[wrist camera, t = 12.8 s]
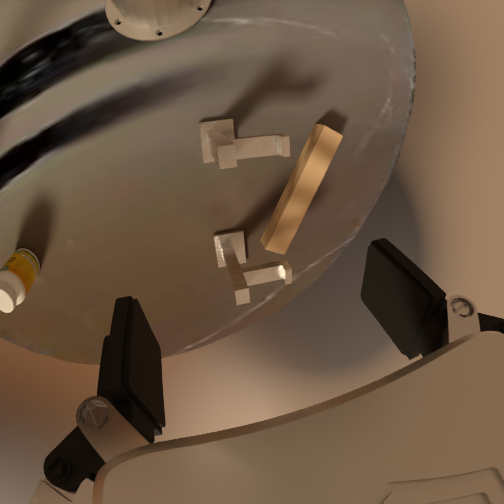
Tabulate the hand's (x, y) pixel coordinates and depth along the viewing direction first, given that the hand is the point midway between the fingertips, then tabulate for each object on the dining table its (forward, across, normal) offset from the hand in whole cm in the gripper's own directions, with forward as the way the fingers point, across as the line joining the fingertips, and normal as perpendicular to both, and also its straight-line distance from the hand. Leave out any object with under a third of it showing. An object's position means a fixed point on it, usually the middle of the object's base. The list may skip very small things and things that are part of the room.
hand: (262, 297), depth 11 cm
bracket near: (+27, -4, -1) cm, 27 cm away
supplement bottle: (+27, +30, +9) cm, 41 cm away
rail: (+27, -12, +7) cm, 30 cm away
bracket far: (+26, -3, +14) cm, 30 cm away
